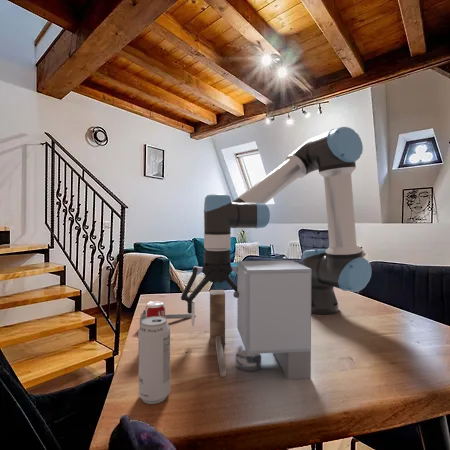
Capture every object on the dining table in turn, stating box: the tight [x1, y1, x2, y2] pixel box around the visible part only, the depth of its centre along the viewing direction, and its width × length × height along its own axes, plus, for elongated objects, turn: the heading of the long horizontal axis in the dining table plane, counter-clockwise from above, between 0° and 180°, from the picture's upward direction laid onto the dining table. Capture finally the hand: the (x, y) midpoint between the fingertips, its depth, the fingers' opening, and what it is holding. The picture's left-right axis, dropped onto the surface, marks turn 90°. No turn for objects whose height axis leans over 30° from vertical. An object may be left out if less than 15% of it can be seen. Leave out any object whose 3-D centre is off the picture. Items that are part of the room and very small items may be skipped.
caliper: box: [139, 309, 197, 327], centre depth 96 cm, size 20×1×6 cm, turn 128°
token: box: [235, 349, 262, 373], centre depth 68 cm, size 6×6×2 cm
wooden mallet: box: [209, 289, 227, 378], centre depth 73 cm, size 4×21×14 cm, turn 6°
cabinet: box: [233, 259, 312, 381], centre depth 67 cm, size 16×13×24 cm
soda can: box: [144, 300, 166, 318], centre depth 77 cm, size 5×5×12 cm
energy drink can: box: [137, 316, 171, 405], centre depth 56 cm, size 6×6×15 cm
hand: (217, 323), depth 81 cm, fingers open, 13 cm apart
